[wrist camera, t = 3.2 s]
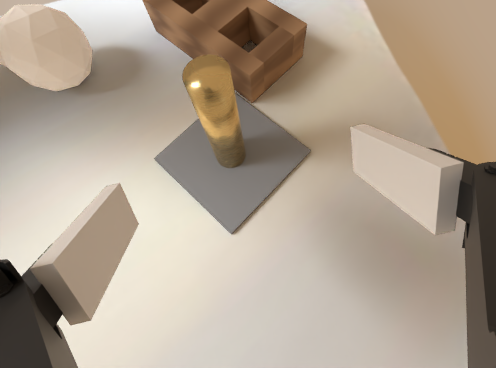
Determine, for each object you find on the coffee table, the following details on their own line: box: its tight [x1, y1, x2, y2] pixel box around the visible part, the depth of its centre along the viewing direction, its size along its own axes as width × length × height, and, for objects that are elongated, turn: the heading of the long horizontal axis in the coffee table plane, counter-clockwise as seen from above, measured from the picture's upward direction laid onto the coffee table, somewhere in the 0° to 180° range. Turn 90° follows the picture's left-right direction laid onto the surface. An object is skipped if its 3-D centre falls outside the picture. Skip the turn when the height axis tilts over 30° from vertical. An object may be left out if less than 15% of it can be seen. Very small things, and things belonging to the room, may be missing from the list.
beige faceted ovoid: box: [0, 4, 93, 91], centre depth 31 cm, size 9×9×12 cm
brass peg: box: [183, 55, 246, 168], centre depth 23 cm, size 3×3×12 cm
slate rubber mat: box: [154, 93, 311, 234], centre depth 29 cm, size 12×12×1 cm
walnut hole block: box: [143, 0, 307, 103], centre depth 33 cm, size 18×9×4 cm, turn 46°
